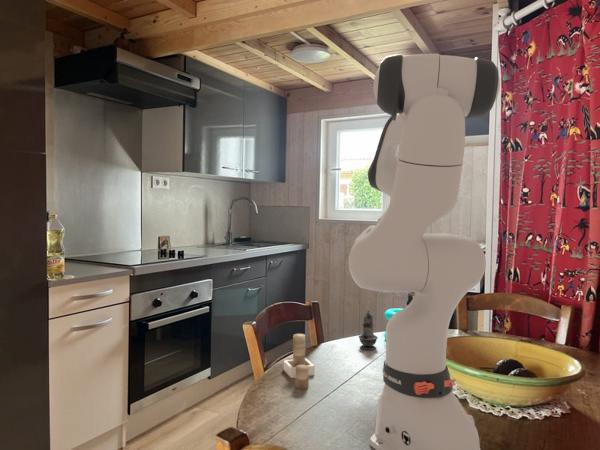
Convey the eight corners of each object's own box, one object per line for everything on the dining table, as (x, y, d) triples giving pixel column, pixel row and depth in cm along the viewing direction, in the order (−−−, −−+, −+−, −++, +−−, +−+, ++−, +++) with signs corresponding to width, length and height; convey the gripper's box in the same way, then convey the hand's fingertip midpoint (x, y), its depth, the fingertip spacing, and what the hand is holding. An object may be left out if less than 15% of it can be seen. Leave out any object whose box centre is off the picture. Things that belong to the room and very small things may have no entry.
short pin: (310, 388, 108) (310, 368, 108) (298, 390, 107) (298, 369, 107) (305, 383, 111) (305, 364, 111) (293, 385, 110) (293, 365, 110)
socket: (314, 375, 117) (314, 365, 117) (291, 378, 115) (291, 368, 115) (305, 366, 123) (305, 357, 123) (283, 369, 121) (283, 360, 121)
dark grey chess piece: (376, 345, 143) (377, 308, 142) (378, 351, 137) (378, 312, 136) (358, 345, 143) (358, 308, 143) (358, 350, 137) (359, 312, 137)
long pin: (306, 373, 118) (306, 336, 118) (295, 375, 117) (295, 337, 116) (302, 369, 121) (302, 333, 121) (291, 371, 120) (291, 334, 119)
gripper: (368, 216, 132) (338, 250, 129) (407, 218, 113) (373, 257, 110) (381, 231, 134) (352, 265, 131) (422, 235, 115) (388, 275, 112)
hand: (362, 261), depth 120 cm, fingers open, 8 cm apart
